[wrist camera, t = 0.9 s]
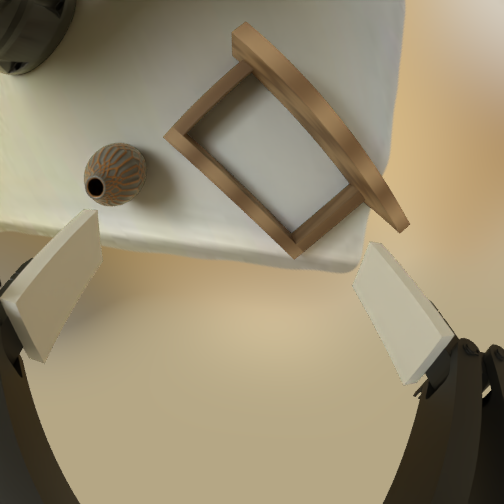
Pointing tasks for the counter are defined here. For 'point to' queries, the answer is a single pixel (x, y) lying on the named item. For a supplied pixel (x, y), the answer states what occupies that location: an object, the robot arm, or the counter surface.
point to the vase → (115, 174)
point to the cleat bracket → (318, 126)
